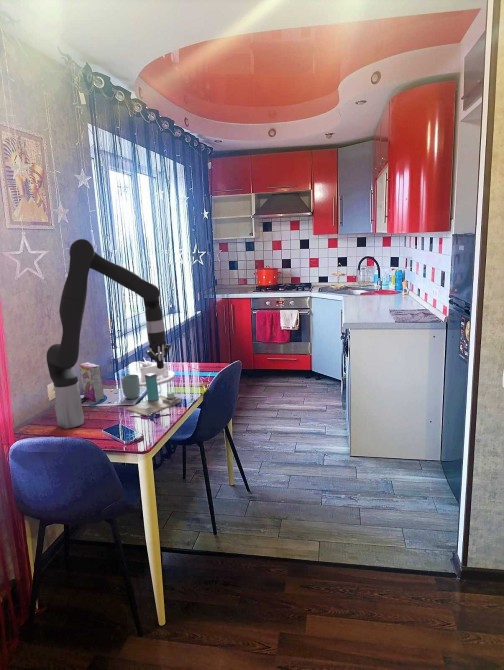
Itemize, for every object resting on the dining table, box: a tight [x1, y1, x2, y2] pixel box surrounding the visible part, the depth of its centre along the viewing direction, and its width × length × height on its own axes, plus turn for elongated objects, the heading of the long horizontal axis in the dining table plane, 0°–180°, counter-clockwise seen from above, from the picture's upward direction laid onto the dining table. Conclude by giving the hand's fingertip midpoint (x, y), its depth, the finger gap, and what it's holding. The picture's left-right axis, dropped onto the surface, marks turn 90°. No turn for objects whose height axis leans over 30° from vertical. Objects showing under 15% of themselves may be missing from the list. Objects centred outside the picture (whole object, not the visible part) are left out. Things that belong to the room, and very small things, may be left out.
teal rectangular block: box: [145, 373, 159, 402], centre depth 209 cm, size 4×4×12 cm
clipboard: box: [126, 394, 182, 417], centre depth 205 cm, size 19×14×2 cm
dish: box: [132, 356, 176, 387], centre depth 245 cm, size 25×25×11 cm
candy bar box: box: [78, 361, 105, 402], centre depth 219 cm, size 11×5×16 cm, turn 47°
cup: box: [120, 374, 141, 400], centre depth 217 cm, size 8×8×10 cm
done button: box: [166, 391, 176, 400], centre depth 207 cm, size 3×3×2 cm
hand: (160, 368), depth 207 cm, fingers closed
